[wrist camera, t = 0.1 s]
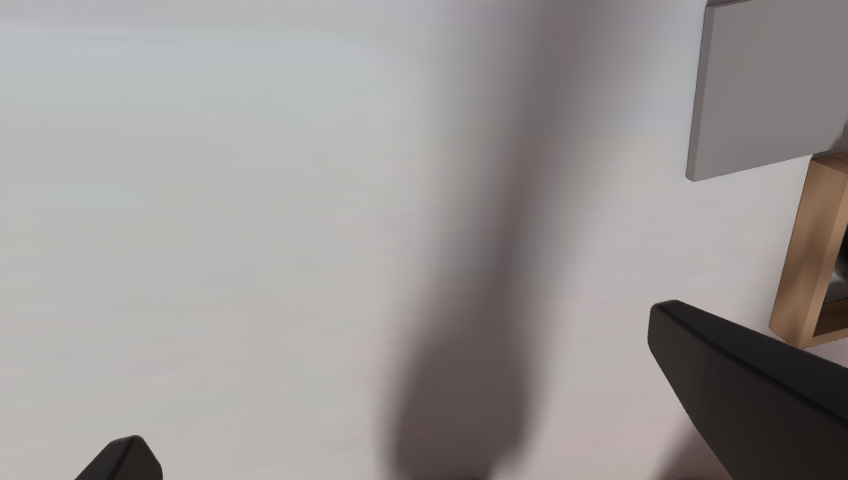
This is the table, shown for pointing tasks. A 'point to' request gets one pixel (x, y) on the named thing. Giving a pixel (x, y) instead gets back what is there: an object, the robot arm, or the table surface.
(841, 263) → the supplement bottle
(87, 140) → the table surface
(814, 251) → the wooden square frame
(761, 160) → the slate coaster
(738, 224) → the table surface
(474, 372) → the table surface
